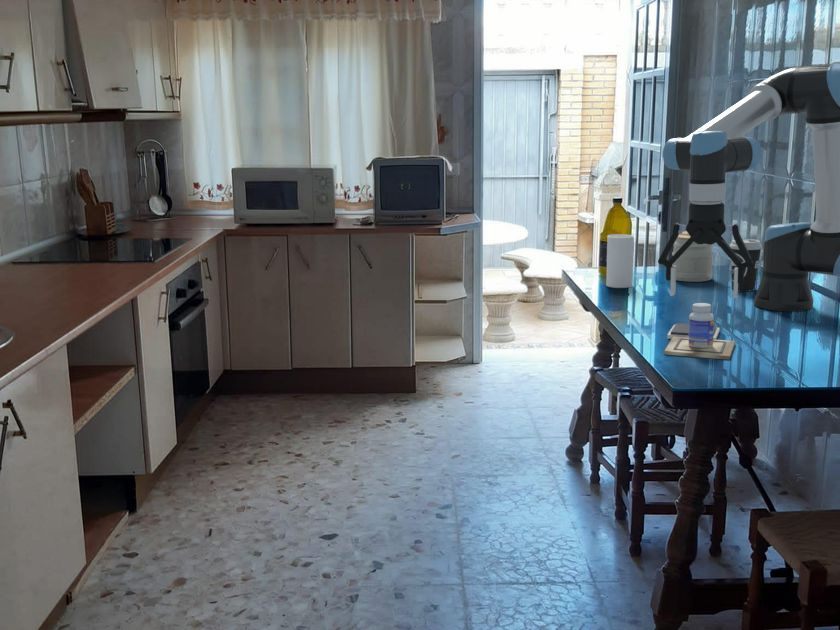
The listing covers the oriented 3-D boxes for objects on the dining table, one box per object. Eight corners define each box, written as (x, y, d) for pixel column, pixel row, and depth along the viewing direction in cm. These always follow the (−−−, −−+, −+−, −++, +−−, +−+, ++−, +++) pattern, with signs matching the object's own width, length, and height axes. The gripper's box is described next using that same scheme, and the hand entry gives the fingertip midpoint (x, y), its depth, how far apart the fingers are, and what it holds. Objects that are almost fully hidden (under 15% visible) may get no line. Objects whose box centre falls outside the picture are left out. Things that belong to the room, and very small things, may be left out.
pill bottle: (714, 349, 194) (716, 307, 192) (689, 348, 195) (690, 306, 193) (711, 343, 200) (713, 302, 197) (686, 342, 201) (688, 301, 198)
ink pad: (719, 331, 213) (719, 325, 213) (714, 342, 203) (715, 335, 203) (673, 328, 217) (674, 322, 217) (667, 338, 208) (667, 332, 207)
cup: (636, 284, 276) (637, 234, 273) (627, 288, 269) (628, 238, 266) (611, 282, 280) (612, 233, 277) (602, 286, 274) (603, 236, 270)
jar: (717, 281, 276) (720, 227, 272) (677, 282, 277) (679, 228, 273) (705, 274, 289) (707, 222, 285) (666, 275, 289) (668, 223, 285)
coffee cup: (756, 293, 257) (759, 243, 254) (723, 290, 262) (726, 242, 259) (762, 287, 265) (765, 239, 262) (730, 285, 270) (733, 238, 267)
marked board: (734, 344, 201) (735, 340, 201) (729, 359, 189) (729, 355, 188) (673, 339, 207) (673, 335, 206) (664, 354, 194) (664, 350, 194)
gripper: (768, 200, 188) (763, 294, 193) (652, 200, 199) (650, 290, 204) (766, 204, 182) (761, 301, 187) (646, 204, 192) (644, 296, 197)
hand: (703, 295), depth 195 cm, fingers open, 13 cm apart
